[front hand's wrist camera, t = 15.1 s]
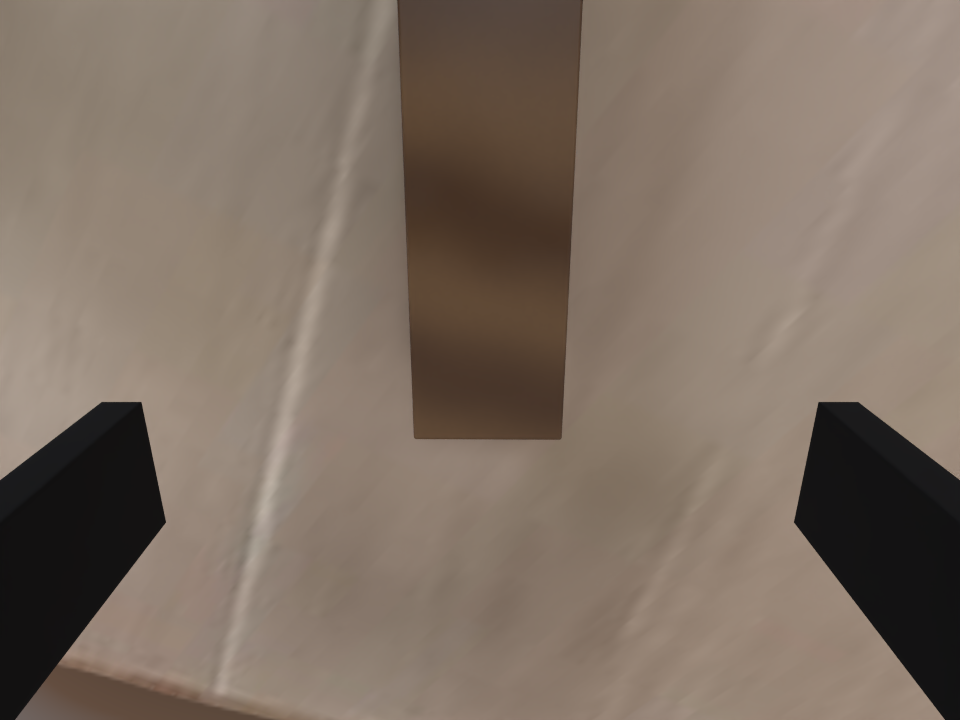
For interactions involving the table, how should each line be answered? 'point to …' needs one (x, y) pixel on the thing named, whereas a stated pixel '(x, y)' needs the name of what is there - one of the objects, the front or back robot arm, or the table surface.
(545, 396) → the post
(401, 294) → the table surface
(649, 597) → the table surface
